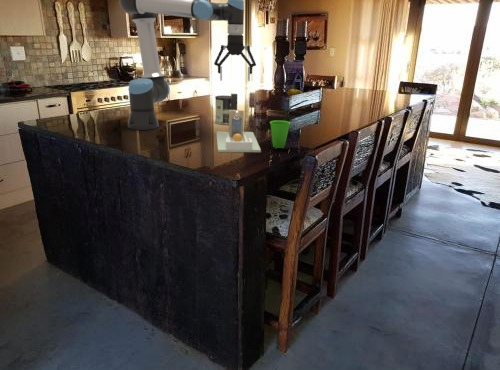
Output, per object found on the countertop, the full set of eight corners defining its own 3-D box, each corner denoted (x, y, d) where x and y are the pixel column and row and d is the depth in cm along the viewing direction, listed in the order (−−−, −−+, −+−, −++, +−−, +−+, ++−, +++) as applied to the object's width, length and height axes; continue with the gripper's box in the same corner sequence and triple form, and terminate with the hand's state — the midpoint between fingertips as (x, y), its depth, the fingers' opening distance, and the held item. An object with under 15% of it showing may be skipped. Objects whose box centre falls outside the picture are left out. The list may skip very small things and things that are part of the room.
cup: (267, 144, 178) (268, 120, 174) (287, 144, 179) (288, 120, 175) (269, 149, 169) (271, 124, 165) (290, 150, 170) (292, 125, 166)
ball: (233, 143, 173) (233, 134, 172) (232, 141, 177) (232, 132, 176) (242, 143, 174) (242, 134, 172) (241, 141, 178) (241, 132, 176)
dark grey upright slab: (232, 137, 180) (232, 101, 174) (229, 125, 203) (230, 93, 197) (241, 137, 180) (241, 101, 175) (237, 125, 204) (238, 93, 198)
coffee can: (235, 121, 222) (236, 96, 217) (231, 125, 212) (231, 98, 207) (218, 119, 224) (218, 94, 219) (212, 123, 214) (212, 97, 209)
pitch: (217, 152, 164) (218, 120, 159) (216, 133, 193) (216, 106, 189) (260, 152, 166) (262, 121, 161) (252, 133, 195) (253, 107, 191)
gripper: (209, 33, 181) (209, 81, 189) (262, 35, 184) (260, 81, 192) (208, 33, 188) (209, 79, 196) (260, 35, 191) (259, 80, 199)
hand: (234, 80), depth 194 cm, fingers open, 13 cm apart
